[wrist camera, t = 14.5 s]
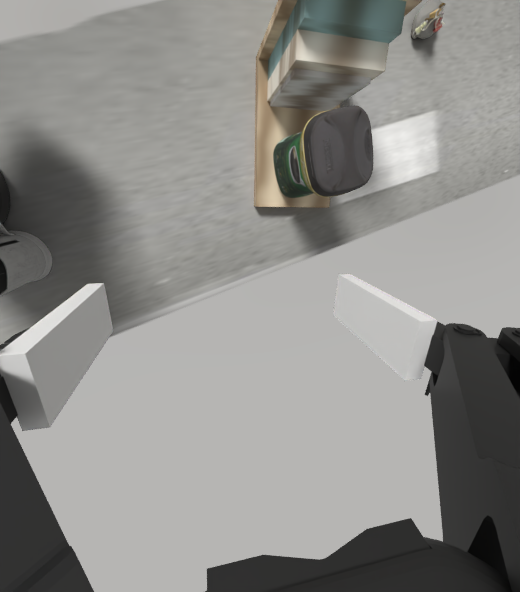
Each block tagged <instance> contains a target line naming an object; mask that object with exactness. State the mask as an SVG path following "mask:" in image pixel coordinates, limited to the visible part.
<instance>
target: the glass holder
mask: <svg viewBox="0 0 520 592" xmlns="http://www.w3.org/2000/svg"><path fill="white" fill-rule="evenodd" d="M0 231H1V232H2V233H1V234H0V296H2V295H4V294H6V293H8V292H10V291H12V290H14V289H16V288H18V287H20V286H22V285H24V284H26V283H28V282H35V281H38V280H41V279H43V278H44V277H46V276H47V275H48V274H49V272H50V270H51V268H52V256H51V253H50V251H49V249H48V247H47V246H46V245H45V244H44V243H43V242H42V241H41V240H40V239H38V238H37V237H35V236H34V235H32V234H29V233H27V232H23V231H15V230H13V231H7V230H6V229H5V228H4V226H3V225H2V224H1V222H0Z"/></svg>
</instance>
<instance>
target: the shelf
mask: <svg viewBox="0 0 520 592" xmlns="http://www.w3.org/2000/svg"><path fill="white" fill-rule="evenodd" d="M421 1H422V0H278V2H277V5H276V8H275V10H274V13H273V15H272V18H271V20H270V23H269V25H268V28H267V31H266V33H265V36H264V38H263V41H262V43H261V46H260V48H259V51H258V54H257V56H256V104H255V180H254V206H256V207H318V208H329V204H330V197H321V196H318V195H316V194H315V193H313V194H311V195H308V196H304V197H298V198H289V197H286V196H285V195H283V194H282V192H281V191H280V188H279V186H278V183H277V179H276V175H275V169H274V162H273V152H274V149H275V146H276V145H277V144H278V143H279V142H280V141H281V140H283V139H284V138H286V137H288V136H291V135H293V134H296V133H299V132H302V131H303V129H304V127H305V125H306V123H307V122H308V121H309V120H310V119H311V118H312V117H313V116H315V115H317V114H319V113H321V112H324V111H328V110H332V109H337V108H340V103H342V102H343V101H345V100H346V99H348V98H349V97H351V96H352V95H354V94H355V93H357V92H358V91H360V90H361V89H363V88H364V87H366V86H367V85H369V84H370V82H371V80H373V79H374V78H376V77H377V76H379V75H380V74H382V73H383V72H384V71H385V67H386V60H387V53H388V47H389V43H390V42H391V41H392V40H394V39H395V38H396V37H397V36H399V35H400V34H401V31H402V25H403V19H404V16H405V15H407V14H408V13H409V12H410V11H411V10H412V9H413V8H414V7H416V6H417V5H418V4H419V3H420V2H421Z"/></svg>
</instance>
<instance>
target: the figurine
mask: <svg viewBox="0 0 520 592" xmlns="http://www.w3.org/2000/svg"><path fill="white" fill-rule="evenodd" d="M445 5H446V4H445V3H441V1H440V0H429V1H427V2H426V3H425V4H424V6H423V7H422V8H421V9H420V10H419V11H418V13H417V14H416V16H415V18H414V22H413V26H412V31H411V35H412V37H413V39H415V38H417V37H418V38H421V39H426V38H428V37H430V36H432V35H433V34H434V33H435V32H437V31H438V30H439V29H440V28H441V27H442V23H443V14H444V12H443V8H444V6H445ZM441 21H442V23H441ZM443 24H445V23H443Z"/></svg>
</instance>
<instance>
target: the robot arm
mask: <svg viewBox="0 0 520 592" xmlns="http://www.w3.org/2000/svg"><path fill="white" fill-rule="evenodd" d="M9 207H10V196H9V191H8V187H7V184H6V182H5V180H4V178H3V176H2V174H1V172H0V222H1V224H3V223H4V221H5V219H6V217H7V215H8V212H9ZM333 315H334V316H335V317H336V318H337V319H338V320H339V321H340V322H341V323H342V324H343V325H344V326H346V327H347V328H348V329H349V330H350V331H351V332H352V333H353V334H354V335H355V336H356V337H358V338H359V339H360V340H361V341H362V342H363V343H364V344H365V345H366V346H367V347H369V348H370V349H371V350H372V351H373V352H374V353H375V354H376V355H377V356H378V357H380V358H381V359H382V360H383V361H384V362H385V363H386V364H387V365H388V366H389V367H391V368H392V369H393V370H394V371H395V372H396V373H397V374H398V375H399V376H400V377H402V378H403V379H404V380H405V381H408V380H415V379H421V376H422V373H423V370H424V366H425V367H427V368H428V369H429V370H431V371H432V373H431V376H430V379H429V383H428V386H427V389H426V393H425V395H427V396H428V394H429V393H431V404H432V416H433V427H434V439H435V450H436V461H437V473H438V484H439V495H440V506H441V516H442V517H441V518H442V529H443V542H442V541H439V540H434V539H430V538H425V537H423V536H422V535H421V533H420V531H419V530H418V529H417V527H416V525H415V524H414V522H413V521H412V519H411V518H410V519H406V520H402V521H398V522H394V523H390V524H385V525H382V526H377V527H373V528H369V529H366V530H365V531H364V532H362V533H361V534H359V535H358V536H356V537H355V538H354V539H352V540H351V541H349V542H348V543H347V544H346V545H344V546H342V547H341V548H340V549H338V550H337V551H336V552H334V553H333V554H331V555H330V556H329V557H327V558H325V559H321V560H315V559H304V558H293V557H281V556H270V555H261V556H257V557H253V558H249V559H245V560H241V561H237V562H233V563H229V564H225V565H221V566H217V567H213V568H208V569H207V591H205V592H520V328H510V327H506V328H502V330H501V332H500V335H499V337H498V339H497V338H487V337H486V335H485V334H484V333H483V332H482V331H480V330H478V329H475V328H473V327H471V326H469V325H465V324H455V323H454V324H447V325H446V326H445V325H443V324H441V323H439V322H438V321H437V320H436V319H434V318H432V317H430V316H429V315H427V314H425V313H423V312H421V311H419V310H417V309H415V308H414V307H412V306H410V305H408V304H406V303H404V302H402V301H400V300H398V299H397V298H395V297H392V296H391V295H389V294H387V293H385V292H383V291H381V290H379V289H377V288H376V287H374V286H372V285H370V284H368V283H366V282H364V281H362V280H361V279H359V278H357V277H355V276H353V275H351V274H339V275H338V283H337V290H336V298H335V305H334V313H333ZM112 332H113V326H112V321H111V316H110V311H109V306H108V301H107V296H106V290H105V285H104V283H95V284H87V285H85V286H84V287H83V288H82V289H80V290H79V291H78V292H76V293H75V294H74V295H72V296H71V297H70V298H69V299H67V300H66V301H65V302H63V303H62V304H61V305H59V306H58V307H57V308H56V309H54V310H53V311H52V312H50V313H49V314H48V315H46V316H45V317H44V318H43V319H41V320H40V321H39V322H37V323H36V324H35V325H33V326H32V327H31V328H28V329H26V330H24V331H22V332H20V333H17V334H15V335H14V336H12V337H11V338H10V339H8V340H7V341H6V342H4V344H1V345H0V592H94V591H93V589H92V587H91V585H90V583H89V581H88V578H87V576H86V574H85V573H84V570H83V568H82V566H81V564H80V562H79V560H78V558H77V556H76V554H75V552H74V551H73V549H72V547H71V546H69V544H68V543H67V540H66V538H65V536H64V534H63V532H62V530H61V528H60V526H59V524H58V522H57V520H56V518H55V516H54V514H53V511H52V509H51V507H50V505H49V503H48V501H47V499H46V497H45V495H44V493H43V491H42V489H41V487H40V485H39V482H38V481H37V478H36V476H35V474H34V472H33V470H32V468H31V466H30V464H29V462H28V460H27V457H26V456H25V453H24V451H23V449H22V447H21V445H20V443H19V441H18V439H17V437H16V435H15V432H14V431H13V428H12V426H11V422H12V421H13V420H14V419H15V418H16V417H17V418H18V421H19V423H20V426H21V428H22V431H25V430H33V429H41V428H48V427H50V426H51V425H52V423H53V422H54V420H55V419H56V417H57V416H58V414H59V413H60V411H61V410H62V408H63V407H64V405H65V404H66V402H67V401H68V399H69V397H70V396H71V394H72V393H73V391H74V390H75V388H76V387H77V385H78V384H79V382H80V381H81V379H82V378H83V376H84V375H85V373H86V372H87V370H88V369H89V367H90V365H91V364H92V363H93V361H94V359H95V358H96V356H97V355H98V353H99V352H100V350H101V349H102V347H103V346H104V344H105V343H106V341H107V340H108V338H109V337H110V335H111V334H112Z"/></svg>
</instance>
